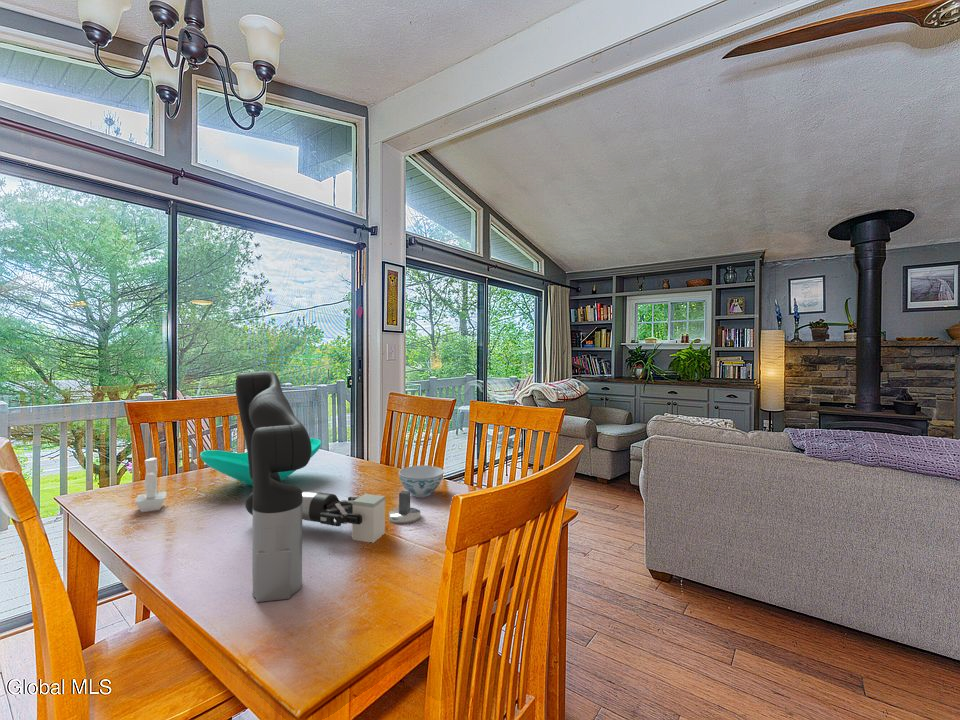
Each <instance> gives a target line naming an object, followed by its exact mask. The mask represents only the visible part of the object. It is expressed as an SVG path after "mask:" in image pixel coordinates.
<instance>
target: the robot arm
mask: <svg viewBox="0 0 960 720" xmlns="http://www.w3.org/2000/svg"><path fill="white" fill-rule="evenodd" d="M234 383H235V387H234V388H235V395H236V396H235V397H236V400H237V401H236V402H237V407H238V411H239V417H240V423H241V426H242V427H241V429H242V433H243V436H244V440H245V445H246V446H245V447H246V451H247V453H248V464H249V474H250V478H251V479H252V480H253V486H252V492H251V493H250V494H249V495H248V496H247V497H246V499H245V504H244V505H245V509H246V511H247V512H248V513H249V514H250V515H252V532H251V533H252V543H251V544H252V548H251V550H252V552H251V553H252V557H251V558H252V559H251V562H252V564H251V565H252V567H251V568H252V596H253V597H254V598H255V603H260V602H261V603H262V602H271V601H272V602H273V601H279V600H281V601H282V600H288V599H291V598H292V595H294V594H295V593H297V592H298V591H299V590H300V589H301V588H302V586H303V521H307V522H315V523H320V524H322V525H327V526H334V527H341V526H342V525H347V524H351V525H353V524H361V523H362V515H358V514H353V501H354V500H355V499H357V498H359V497H356V496H347V499H343V500H340V499H339V498H338V496H337V495H336V494H334V493H327V492H318V491H303V490H302V489H301V487H300V486H297V485H295V484H290V483H285V482H283V480H282V481H281V478H280V475H279V473H278V472H285V471H292V470H296V471H297V470H301V469H303V468H305V467H306V466H307V465H308V464H309V462H310V460H311V458H312V457H311V452H312V448H311V441H310V438H311V437H310V435H309V433H308V430H307V429H306V426H304V424H303V423H302V422H301V421H300V420H299V419H298V418H297V417H296V415H295V414H294V411H293V409H292V407H291V405H290V403H289V401H288V399H287V398H286V396H285V395H284V392H283V390H282V389H283V388H282V386H281V382H280V379H279V377H278V374H276V373H275V372H274V371H271V370H262V371H261V370H260V371H251V372H248V371H247V372H241V373H238V374H237V375H236V377H235V382H234ZM310 457H311V458H310Z"/></svg>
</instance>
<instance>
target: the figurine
mask: <svg viewBox="0 0 960 720" xmlns="http://www.w3.org/2000/svg"><path fill="white" fill-rule="evenodd" d="M144 466H145V476H144V477H145V478H144V491H145V493H143V494H137V496H136V498H135V501H134V503H135V506H137V508H138V509H139V511H140V512H141V513H145V512H155V511H160V510H161V508H162V506H163V504H164V502H165V500H166V497H167V493H168V491H167V490H166V491H158V490H157V485H158V483H157V479H158V478H157V477H158V476H157V475H158V457H150V458H148V459H147V458H146V459H144Z"/></svg>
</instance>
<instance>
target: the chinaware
mask: <svg viewBox="0 0 960 720" xmlns="http://www.w3.org/2000/svg"><path fill="white" fill-rule="evenodd" d="M444 473H445V472H444V470H443V468H441V467H438V466H432V465H412V466H406V467H404V468H401V469H399V471H398V477H399V481H400V483H401V484H402V486H403V488H404V489H405V491H410V496H412V497H413V496H415V497H414V498H427V497H429V495H430V496H431V495H432V492H433V491H435V490H436V489H437V488H438V487H440V486H439V485H440V484H441V482H442V480H443V477H444ZM426 496H427V497H426Z"/></svg>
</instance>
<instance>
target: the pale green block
mask: <svg viewBox="0 0 960 720" xmlns="http://www.w3.org/2000/svg"><path fill="white" fill-rule="evenodd" d="M353 514H358V515H362V523H361V524H352V529H351V530H352V532H351V533H352V534H351V535H352V536H351V537H352V541H358V542H364V543H370V542H372V543H371V544H374V543H375V542H376V541H378V540H379V539H381V538H382V535H383V536H384V535H385V534H386V495H379V494H377V495H376V494H372V493H371V494H369V493H364V494H362V495H360V496H359V497H358V498H357V499H355V500H354V501H353ZM377 539H378V540H377Z"/></svg>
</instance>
